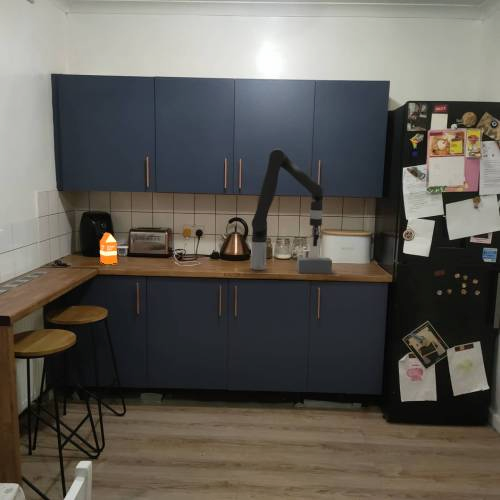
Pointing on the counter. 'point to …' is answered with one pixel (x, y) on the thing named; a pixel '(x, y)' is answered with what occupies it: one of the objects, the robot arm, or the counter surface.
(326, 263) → the dispenser
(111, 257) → the orange juice
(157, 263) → the counter surface
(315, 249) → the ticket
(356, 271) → the counter surface
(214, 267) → the counter surface
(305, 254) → the small box
